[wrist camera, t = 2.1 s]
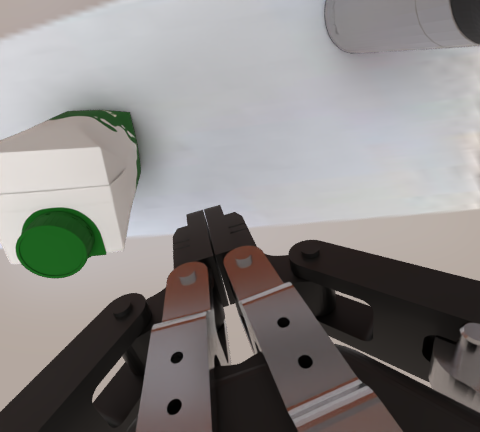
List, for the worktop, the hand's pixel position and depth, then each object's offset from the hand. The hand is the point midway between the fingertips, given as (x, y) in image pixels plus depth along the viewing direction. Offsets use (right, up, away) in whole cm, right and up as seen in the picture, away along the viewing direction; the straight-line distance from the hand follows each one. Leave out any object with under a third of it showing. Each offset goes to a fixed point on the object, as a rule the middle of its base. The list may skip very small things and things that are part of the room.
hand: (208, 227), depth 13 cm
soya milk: (-15, +9, +22) cm, 28 cm away
